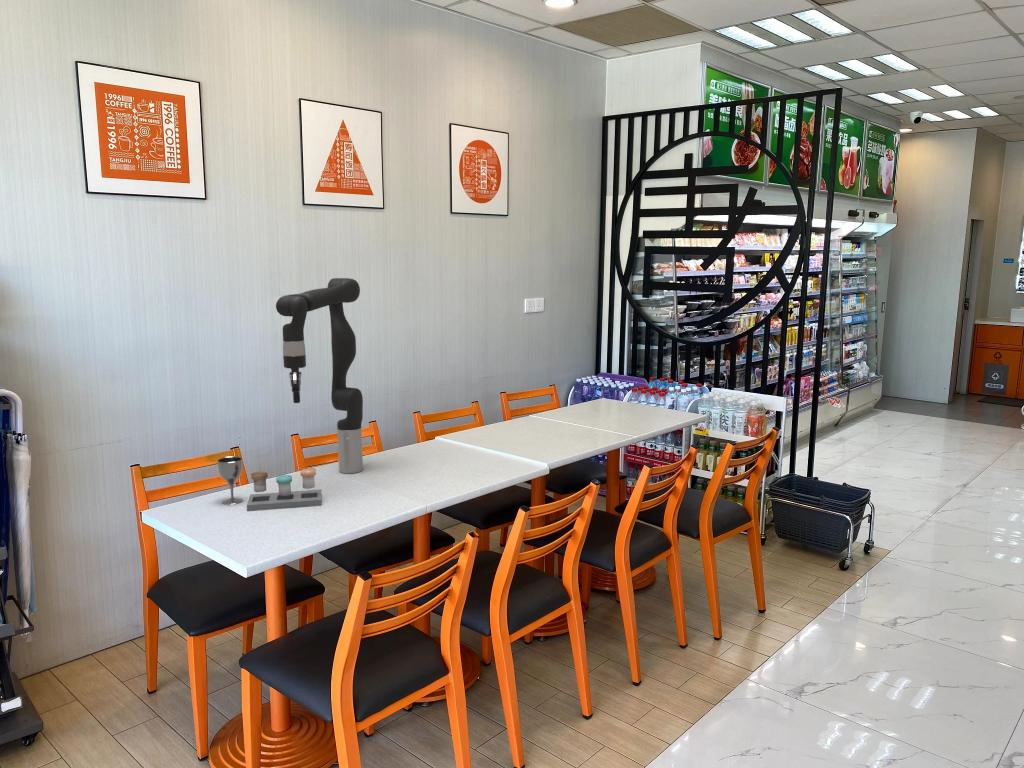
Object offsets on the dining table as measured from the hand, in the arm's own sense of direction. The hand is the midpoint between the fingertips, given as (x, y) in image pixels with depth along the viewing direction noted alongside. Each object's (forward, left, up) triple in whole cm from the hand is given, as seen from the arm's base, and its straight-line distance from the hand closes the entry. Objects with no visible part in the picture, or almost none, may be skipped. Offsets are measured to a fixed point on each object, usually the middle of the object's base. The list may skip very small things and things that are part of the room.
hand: (296, 402), depth 270 cm
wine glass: (+4, -23, -33) cm, 41 cm away
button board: (+10, -5, -33) cm, 35 cm away
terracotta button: (+10, +3, -28) cm, 30 cm away
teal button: (+10, -5, -30) cm, 32 cm away
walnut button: (+10, -13, -28) cm, 32 cm away
